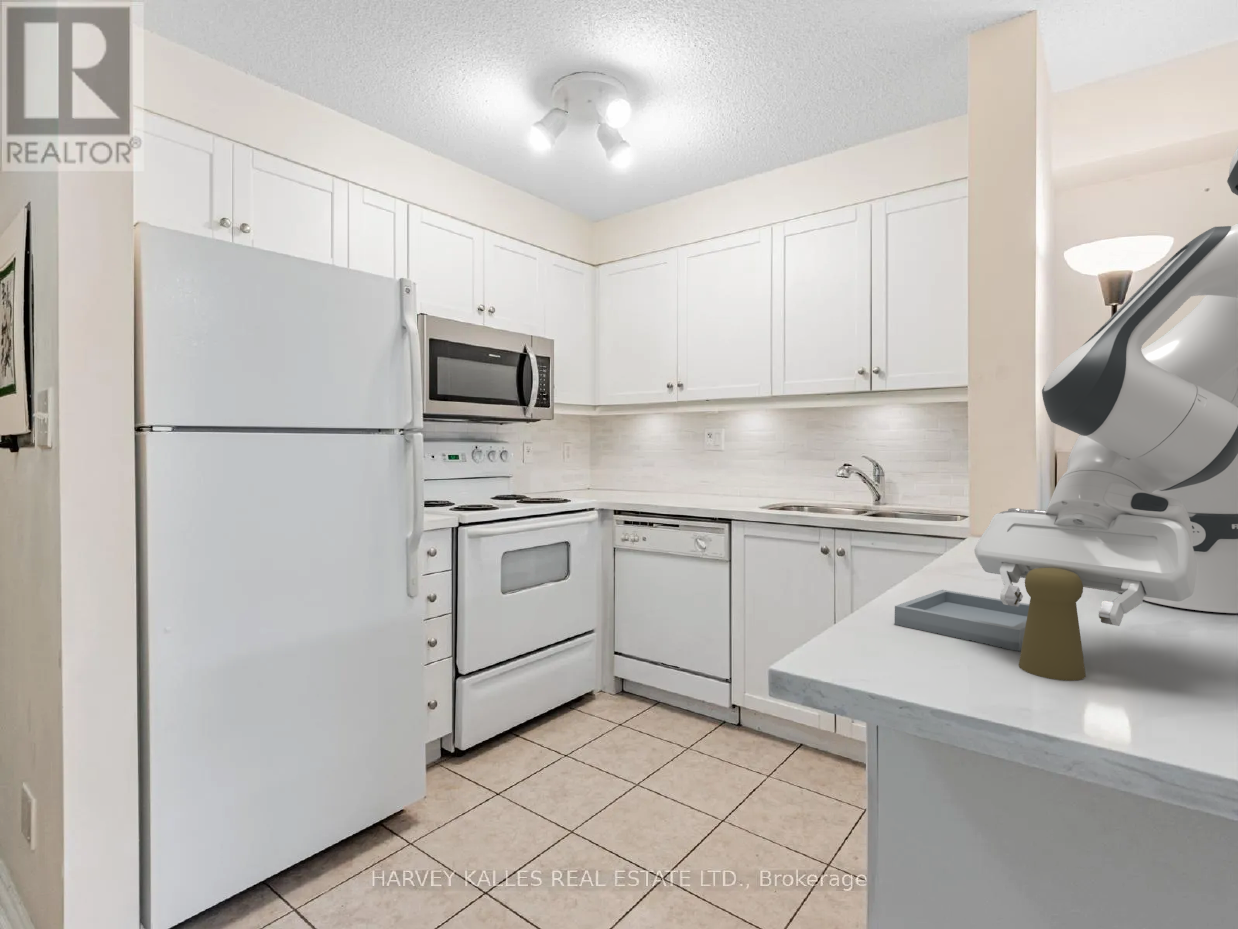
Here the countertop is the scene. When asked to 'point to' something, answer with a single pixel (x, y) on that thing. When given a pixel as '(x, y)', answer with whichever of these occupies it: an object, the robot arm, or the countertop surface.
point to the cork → (1053, 625)
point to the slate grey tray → (966, 618)
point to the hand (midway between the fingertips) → (1055, 611)
